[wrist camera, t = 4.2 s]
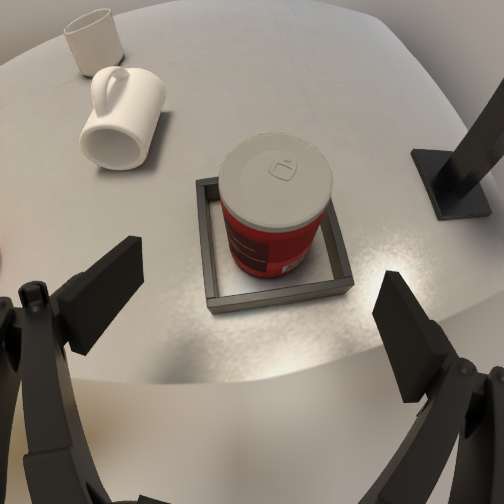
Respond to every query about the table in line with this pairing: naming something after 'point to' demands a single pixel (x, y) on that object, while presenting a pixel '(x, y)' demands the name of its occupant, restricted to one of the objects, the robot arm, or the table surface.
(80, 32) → the mug
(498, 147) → the steel stand
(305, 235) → the canned food
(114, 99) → the mug
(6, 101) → the table surface
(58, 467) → the robot arm
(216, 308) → the grey square frame
